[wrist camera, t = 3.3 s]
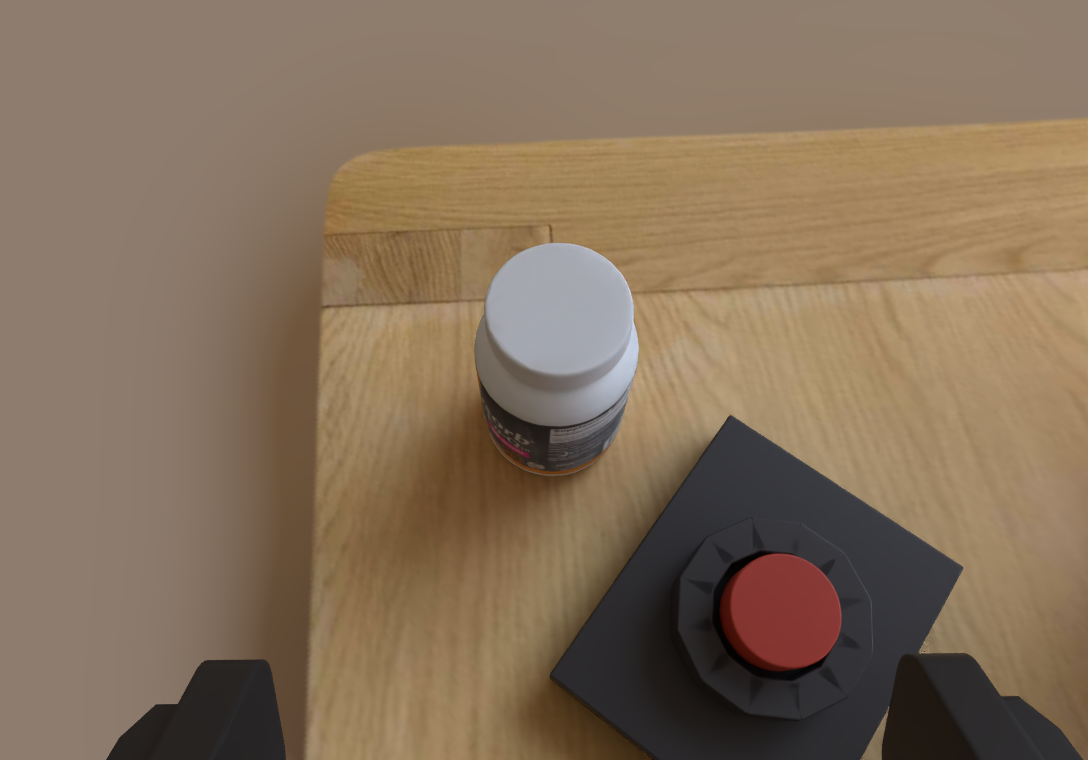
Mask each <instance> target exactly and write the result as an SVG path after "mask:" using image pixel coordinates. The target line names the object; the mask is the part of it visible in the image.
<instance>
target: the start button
mask: <svg viewBox="0 0 1088 760" xmlns="http://www.w3.org/2000/svg"><path fill="white" fill-rule="evenodd" d="M719 614H720V622H721V626H722V630H723V632H724V635H725V637H726V639H727V641H728V642H729V644H730V645H731V647H732V648H733V649H734V651H735V652H736V653H737V654H738V655H739V656H740V657H742V658H743V659H744V660H745V661H747V662H749V663H750V664H752V665H754V666H756V667H758V668H761V669H764V670H769V671H787V670H793V669H798V668H803V667H807V666H809V665H812V664H814V663H816V662H818V661H819V660H821V659H822V658H823V657H825V656H826V655H827V654H828V653H829V651H830V650H831V649H832V647H833V646H834V644H835V642H836V640H837V638H838V635H839V632H840V628H841V617H842V616H841V607H840V602H839V599H838V596H837V593H836V591H835V589H834V587H833V585H832V584H831V582H830V581H829V579H828V578H827V577H826V576H825V574H824V573H823V572H822V571H820V570H819V569H818V568H817V567H816V566H814V565H813V564H812V563H810V562H808V561H807V560H804V559H802V558H800V557H797V556H794V555H789V554H779V553H778V554H769V555H765V556H762V557H759V558H757V559H755V560H753V561H752V562H750V563H749V564H747V565H746V566H745V567H743V568H742V569H741V570H739V571H738V572H737V573H736V574H735V575H734V576H733V577H732V578H731V579H730V580H729V581H728V583H727V584H726V586H725V588H724V590H723V593H722V596H721V600H720V607H719Z"/></svg>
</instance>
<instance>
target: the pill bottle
mask: <svg viewBox="0 0 1088 760" xmlns="http://www.w3.org/2000/svg"><path fill="white" fill-rule="evenodd" d="M633 316H634V307H633V300H632V296H631V292H630V289H629V286H628V284H627V282H626V280H625V279H624V277H623V276H622V274H621V273H620V272H619V270H618V269H617V268H616V267H615V266H614V265H613V264H612V263H611V262H610V261H609V260H607V259H606V258H605V257H603V256H602V255H600V254H598V253H596V252H595V251H593V250H590V249H588V248H585V247H582V246H579V245H574V244H568V243H550V244H543V245H538V246H535V247H532V248H529V249H526V250H524V251H522V252H520V253H518V254H517V255H515V256H514V257H512V258H511V259H510V260H508V261H507V262H506V263H505V264H504V265H503V266H502V267H501V268H500V269H499V271H498V272H497V273H496V275H495V276H494V278H493V279H492V281H491V283H490V285H489V288H488V291H487V294H486V298H485V304H484V315H483V317H482V319H481V321H480V324H479V327H478V330H477V334H476V339H475V348H474V351H475V364H476V370H477V376H478V382H479V387H480V393H481V398H482V405H483V410H484V417H485V423H486V426H487V430H488V432H489V435H490V437H491V439H492V441H493V443H494V444H495V446H496V448H497V449H498V450H499V451H500V453H501V454H502V455H503V456H504V457H505V458H506V459H507V460H509V461H510V462H511V463H513V464H514V465H516V466H517V467H519V468H521V469H523V470H525V471H528V472H531V473H534V474H538V475H543V476H562V475H568V474H572V473H575V472H578V471H580V470H583V469H585V468H586V467H588V466H590V465H591V464H593V463H594V462H596V461H597V460H598V459H599V458H600V457H601V456H602V455H603V454H604V453H605V452H606V451H607V450H608V448H609V447H610V446H611V444H612V442H613V441H614V439H615V437H616V434H617V432H618V429H619V426H620V424H621V421H622V416H623V413H624V410H625V406H626V402H627V399H628V394H629V391H630V388H631V384H632V381H633V378H634V374H635V372H636V367H637V363H638V353H639V345H638V337H637V332H636V328H635V325H634V322H633Z"/></svg>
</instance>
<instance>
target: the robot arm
mask: <svg viewBox="0 0 1088 760" xmlns="http://www.w3.org/2000/svg"><path fill="white" fill-rule="evenodd" d="M106 760H286V755H285V745H284V739H283V733H282V728H281V722H280V717H279V711H278V705H277V700H276V694H275V689H274V683H273V678H272V672H271V668H270V666H269V664H268V662H267V661H266V660H207V661H204V662H203V663H201V665H200V666H199V667H198V668H197V670H196V672H195V674H194V675H193V677H192V679H191V681H190V683H189V684H188V686H187V688H186V690H185V692H184V694H183V696H182V698H181V700H180V701H179V703H178V704H159V705H155V706H154V707H153V708H152V709H151V710H149V711H148V712H147V713H146V714H145V715H144V716H143V717H142V718H141V719H140V720H138V721H137V722H136V723H135V724H134V725H133V726H132V727H131V728H130V729H129V730H128V731H126V733H124V734H123V735H122V736H121V737H120V738H119V739H118V741H117V743H116V744H115V746H114V748H113V749H112V751H111V753H110V754H109V756H108V758H107V759H106ZM882 760H1083V759H1082V758H1081V756H1080V755H1079V754H1078V752H1077V751H1076V750H1075V748H1074V747H1073V746H1072V744H1071V743H1070V742H1069V740H1068V739H1067V738H1066V736H1065V735H1064V734H1063V732H1062V731H1061V730H1060V729H1059V728H1058V727H1057V726H1056V725H1054V724H1053V723H1052V722H1051V721H1049V720H1048V719H1047V718H1045V717H1044V716H1043V715H1042V714H1040V713H1039V712H1038V711H1037V710H1035V709H1034V708H1033V707H1031V706H1030V705H1029V704H1028V703H1026V702H1025V701H1024V700H1023V699H1021V698H1020V697H1019V696H1003V697H1001V696H1000V694H999V693H998V691H997V690H996V689H995V687H994V686H993V684H992V683H991V681H990V680H989V679H988V677H987V676H986V674H985V673H984V671H983V670H982V668H981V667H980V666H979V664H978V663H977V662H976V660H975V659H974V658H973V657H971V656H970V655H968V654H965V653H931V654H905V655H903V656H902V657H901V658H900V660H899V663H898V666H897V670H896V676H895V681H894V686H893V691H892V696H891V701H890V706H889V711H888V717H887V722H886V727H885V732H884V737H883V743H882Z"/></svg>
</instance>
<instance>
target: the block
mask: <svg viewBox="0 0 1088 760" xmlns="http://www.w3.org/2000/svg"><path fill="white" fill-rule="evenodd" d="M778 553H779V554H789V555H794V556H797V557H800V558H802V559H804V560H807V561H808V562H810V563H812V564H813V565H814V566H816V567H817V568H818V569H819V570H820V571H822V572H823V573H824V574H825V576H826V577H827V578H828V579H829V581H830V582H831V584H832V585H833V587H834V589H835V591H836V593H837V596H838V599H839V602H840V607H841V616H842V617H841V628H840V632H839V635H838V638H837V640H836V642H835V644H834V646H833V647H832V649H831V650H830V651H829V653H828V654H827V655H826V656H825V657H823V658H822V659H821V660H819V661H818V662H816V663H814V664H812V665H809V666H807V667H803V668H798V669H793V670H787V671H769V670H764V669H761V668H758V667H756V666H754V665H752V664H750V663H749V662H747V661H745V660H744V659H743V658H742V657H740V656H739V655H738V654H737V653H736V652H735V651H734V649H733V648H732V647H731V645H730V644H729V642H728V641H727V639H726V637H725V635H724V632H723V630H722V626H721V622H720V614H719V607H720V600H721V596H722V593H723V590H724V588H725V586H726V584H727V583H728V581H729V580H730V579H731V578H732V577H733V576H734V575H735V574H736V573H737V572H738V571H739V570H741V569H742V568H743V567H745V566H746V565H747V564H749V563H750V562H752V561H753V560H755V559H757V558H759V557H762V556H765V555H769V554H778ZM962 570H963V567H962V566H961V565H959V564H958V563H956V562H955V561H953V560H952V559H950V558H949V557H947V556H946V555H944V554H943V553H941V552H940V551H938V550H936V549H935V548H933V547H932V546H930V545H929V544H927V543H926V542H924V541H923V540H921V539H920V538H918V537H917V536H915V535H914V534H912V533H910V532H909V531H907V530H906V529H904V528H903V527H901V526H900V525H898V524H897V523H895V522H894V521H892V520H891V519H889V518H888V517H886V516H885V515H883V514H881V513H880V512H878V511H877V510H875V509H874V508H872V507H871V506H869V505H868V504H866V503H865V502H863V501H862V500H860V499H859V498H857V497H855V496H854V495H852V494H851V493H849V492H848V491H846V490H845V489H843V488H842V487H840V486H839V485H837V484H836V483H834V482H833V481H831V480H829V479H828V478H826V477H825V476H823V475H822V474H820V473H819V472H817V471H816V470H814V469H813V468H811V467H810V466H808V465H807V464H805V463H803V462H802V461H800V460H799V459H797V458H796V457H794V456H793V455H791V454H790V453H788V452H787V451H785V450H784V449H782V448H781V447H779V446H777V445H776V444H774V443H773V442H771V441H770V440H768V439H767V438H765V437H764V436H762V435H761V434H759V433H758V432H756V431H755V430H753V429H751V428H750V427H748V426H747V425H745V424H744V423H742V422H741V421H739V420H738V419H736V418H735V417H733V416H731V415H730V416H729V417H728V418H727V420H726V421H725V422H724V424H723V425H722V427H721V428H720V430H719V431H718V433H717V434H716V435H715V437H714V438H713V440H712V441H711V443H710V444H709V446H708V447H707V448H706V450H705V451H704V453H703V454H702V456H701V457H700V458H699V460H698V461H697V463H696V464H695V466H694V467H693V469H692V470H691V471H690V473H689V474H688V476H687V477H686V479H685V480H684V482H683V483H682V484H681V486H680V487H679V489H678V490H677V492H676V493H675V495H674V496H673V497H672V499H671V500H670V502H669V503H668V505H667V506H666V508H665V509H664V510H663V512H662V513H661V515H660V516H659V518H658V519H657V520H656V522H655V523H654V525H653V526H652V528H651V529H650V531H649V532H648V533H647V535H646V536H645V538H644V539H643V541H642V542H641V544H640V545H639V546H638V548H637V549H636V551H635V552H634V554H633V555H632V557H631V558H630V559H629V561H628V562H627V564H626V565H625V567H624V568H623V570H622V571H621V572H620V574H619V575H618V577H617V578H616V580H615V581H614V582H613V584H612V585H611V587H610V588H609V590H608V591H607V593H606V594H605V595H604V597H603V598H602V600H601V601H600V603H599V604H598V606H597V607H596V608H595V610H594V611H593V613H592V614H591V616H590V617H589V619H588V620H587V621H586V623H585V624H584V626H583V627H582V629H581V630H580V632H579V633H578V634H577V636H576V637H575V639H574V640H573V642H572V643H571V644H570V646H569V647H568V649H567V650H566V652H565V653H564V655H563V656H562V657H561V659H560V660H559V662H558V663H557V665H556V666H555V668H554V669H553V670H552V672H551V674H550V679H551V680H552V681H554V682H555V683H556V684H557V685H559V686H560V687H561V688H563V689H564V690H565V691H566V692H568V693H569V694H570V695H572V696H573V697H574V698H575V699H577V700H578V701H579V702H580V703H582V704H583V705H584V706H586V707H587V708H588V709H589V710H591V711H592V712H593V713H594V714H596V715H597V716H598V717H600V718H601V719H602V720H603V721H605V722H606V723H607V724H609V725H610V726H611V727H612V728H614V729H615V730H616V731H617V732H619V733H620V734H621V735H623V736H624V737H625V738H626V739H628V740H629V741H630V742H631V743H633V744H634V745H635V746H637V747H638V748H639V749H640V750H642V751H643V752H644V753H646V754H647V755H648V756H649V757H651V758H652V759H653V760H860V759H861V757H862V756H863V754H864V752H865V750H866V748H867V746H868V744H869V743H870V741H871V739H872V737H873V735H874V733H875V731H876V730H877V728H878V726H879V724H880V722H881V720H882V718H883V717H884V715H885V713H886V711H887V709H888V707H889V706H890V701H891V696H892V691H893V686H894V681H895V676H896V670H897V666H898V663H899V660H900V658H901V657H902V656H903V655H905V654H918V652H919V650H920V648H921V646H922V644H923V642H924V641H925V639H926V637H927V635H928V633H929V631H930V629H931V628H932V626H933V624H934V622H935V620H936V618H937V617H938V615H939V613H940V611H941V609H942V607H943V605H944V604H945V602H946V600H947V598H948V596H949V594H950V592H951V591H952V589H953V587H954V585H955V583H956V581H957V579H958V578H959V576H960V574H961V572H962Z"/></svg>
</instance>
